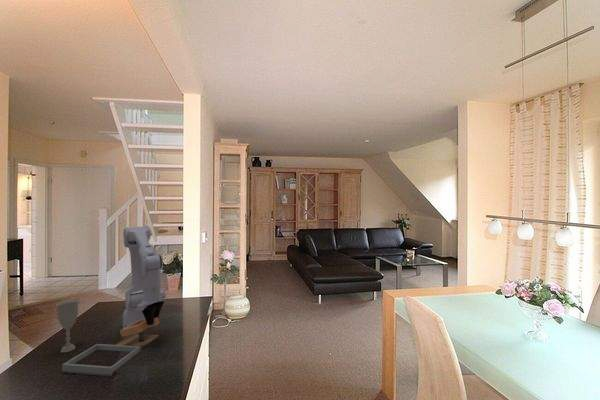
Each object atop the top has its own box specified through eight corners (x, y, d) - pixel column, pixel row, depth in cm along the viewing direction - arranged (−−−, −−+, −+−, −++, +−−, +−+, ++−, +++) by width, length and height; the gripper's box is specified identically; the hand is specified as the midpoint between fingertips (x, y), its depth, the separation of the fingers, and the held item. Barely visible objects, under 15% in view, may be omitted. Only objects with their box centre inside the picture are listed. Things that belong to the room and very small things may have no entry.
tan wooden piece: (113, 348, 108) (113, 331, 108) (132, 336, 118) (132, 320, 118) (142, 350, 107) (142, 332, 107) (159, 337, 117) (159, 321, 117)
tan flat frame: (121, 337, 108) (119, 330, 108) (140, 326, 117) (138, 320, 117) (149, 330, 105) (147, 323, 105) (166, 319, 113) (164, 313, 114)
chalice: (84, 348, 108) (84, 300, 108) (64, 358, 102) (64, 307, 102) (71, 345, 111) (70, 298, 111) (51, 354, 104) (50, 305, 104)
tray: (62, 372, 93) (62, 364, 93) (97, 350, 107) (96, 343, 107) (111, 376, 91) (111, 368, 91) (140, 353, 104) (140, 346, 104)
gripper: (149, 293, 102) (149, 332, 102) (172, 282, 116) (173, 315, 116) (131, 293, 103) (131, 331, 103) (156, 281, 117) (156, 314, 117)
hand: (152, 322), depth 110 cm, fingers closed on tan flat frame, 2 cm apart
